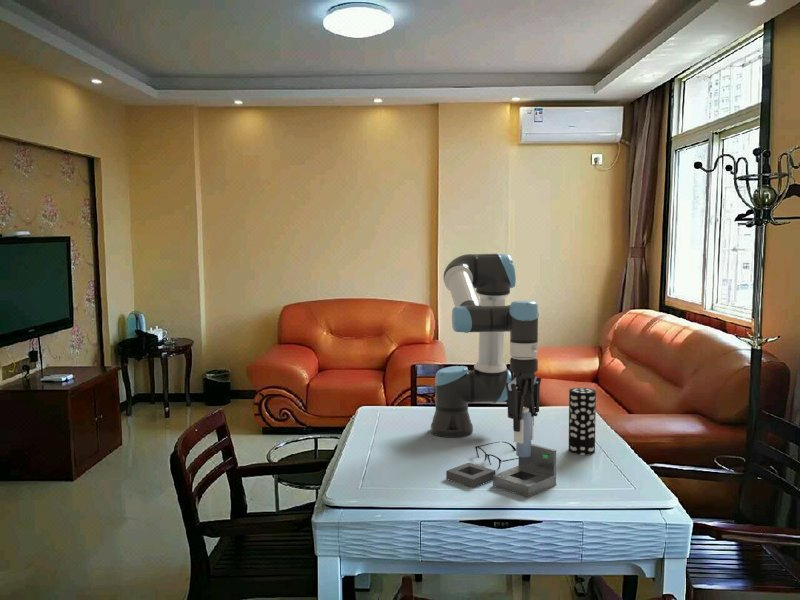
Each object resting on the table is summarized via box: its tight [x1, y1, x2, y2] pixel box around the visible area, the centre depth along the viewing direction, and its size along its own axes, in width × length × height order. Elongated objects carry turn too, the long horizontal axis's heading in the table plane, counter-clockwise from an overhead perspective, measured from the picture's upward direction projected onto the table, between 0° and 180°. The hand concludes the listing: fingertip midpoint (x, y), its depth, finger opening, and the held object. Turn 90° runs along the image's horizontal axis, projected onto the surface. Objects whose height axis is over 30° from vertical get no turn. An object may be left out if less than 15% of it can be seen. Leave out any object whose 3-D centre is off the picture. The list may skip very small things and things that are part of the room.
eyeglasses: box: [474, 441, 519, 470], centre depth 208 cm, size 16×16×4 cm
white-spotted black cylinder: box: [568, 387, 597, 456], centre depth 215 cm, size 8×8×20 cm
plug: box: [515, 406, 532, 458], centre depth 184 cm, size 4×4×13 cm
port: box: [492, 443, 557, 499], centre depth 186 cm, size 12×13×10 cm
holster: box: [445, 462, 496, 489], centre depth 192 cm, size 10×10×2 cm
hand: (523, 440), depth 184 cm, fingers closed on plug, 4 cm apart
